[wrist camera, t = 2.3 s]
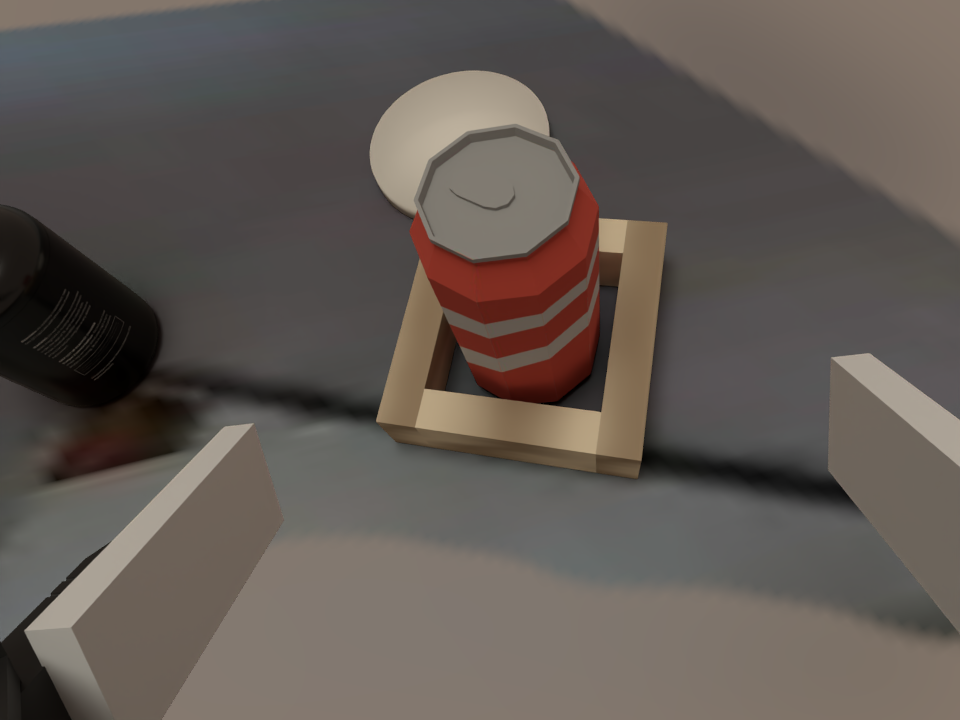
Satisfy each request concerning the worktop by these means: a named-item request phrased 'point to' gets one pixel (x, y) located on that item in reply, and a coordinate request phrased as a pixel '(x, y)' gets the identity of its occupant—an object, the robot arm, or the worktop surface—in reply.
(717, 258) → the worktop surface
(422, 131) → the coaster
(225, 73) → the worktop surface
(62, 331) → the supplement bottle
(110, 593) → the robot arm
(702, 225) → the worktop surface
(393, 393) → the oak holder
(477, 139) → the beverage can
